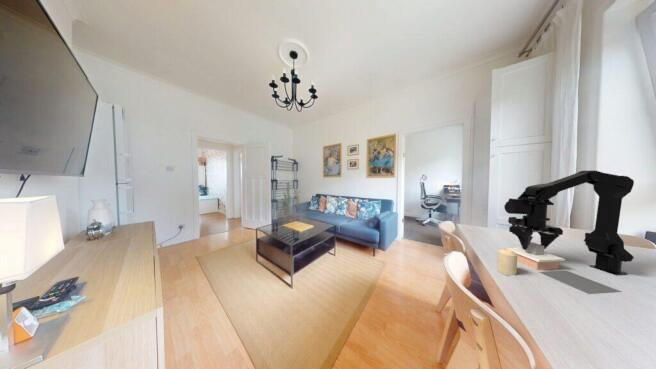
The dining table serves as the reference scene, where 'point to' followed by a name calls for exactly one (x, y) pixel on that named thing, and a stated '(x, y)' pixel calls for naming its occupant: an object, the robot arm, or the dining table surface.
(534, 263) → the dish
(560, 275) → the mat
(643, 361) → the dining table surface
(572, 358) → the dining table surface
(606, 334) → the dining table surface
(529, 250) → the lid
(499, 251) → the candle
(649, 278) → the dining table surface
